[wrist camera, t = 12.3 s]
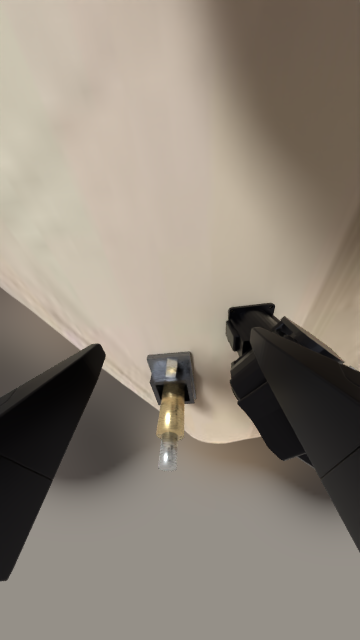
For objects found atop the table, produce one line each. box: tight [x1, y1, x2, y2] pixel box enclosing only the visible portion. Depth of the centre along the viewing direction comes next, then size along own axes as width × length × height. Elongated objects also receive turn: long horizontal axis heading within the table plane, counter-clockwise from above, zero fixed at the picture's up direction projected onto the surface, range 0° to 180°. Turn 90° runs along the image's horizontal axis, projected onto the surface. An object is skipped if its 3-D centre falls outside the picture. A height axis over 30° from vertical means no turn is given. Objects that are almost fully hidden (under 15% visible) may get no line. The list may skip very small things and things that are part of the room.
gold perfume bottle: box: [156, 383, 185, 471], centre depth 24 cm, size 4×4×12 cm
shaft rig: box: [147, 352, 196, 405], centre depth 28 cm, size 8×14×4 cm, turn 8°
